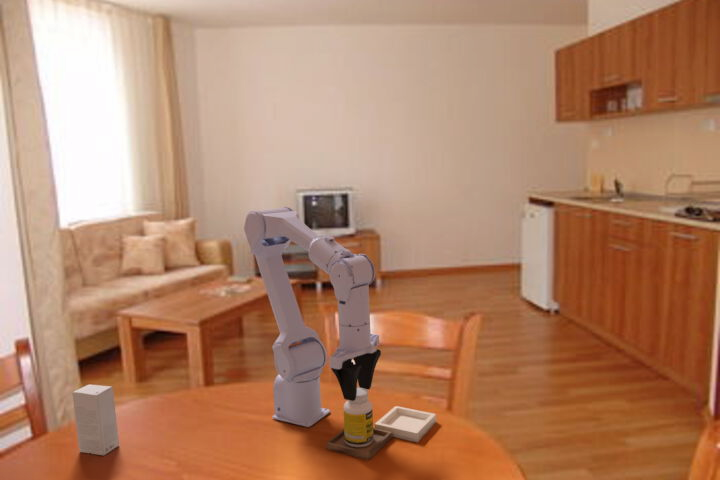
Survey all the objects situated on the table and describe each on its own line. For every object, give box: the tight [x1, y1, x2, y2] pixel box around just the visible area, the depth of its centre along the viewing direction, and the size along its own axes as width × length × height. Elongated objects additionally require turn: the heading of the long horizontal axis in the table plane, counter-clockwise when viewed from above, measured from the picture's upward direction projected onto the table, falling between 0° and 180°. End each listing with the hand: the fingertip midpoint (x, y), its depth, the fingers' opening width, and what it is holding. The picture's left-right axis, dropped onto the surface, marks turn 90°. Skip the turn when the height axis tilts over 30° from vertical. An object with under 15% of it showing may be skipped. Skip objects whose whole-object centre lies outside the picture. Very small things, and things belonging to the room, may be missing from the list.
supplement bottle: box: [343, 387, 374, 448], centre depth 105 cm, size 5×5×10 cm
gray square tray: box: [325, 427, 393, 461], centre depth 106 cm, size 9×9×1 cm
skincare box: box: [72, 383, 120, 456], centre depth 107 cm, size 6×4×12 cm
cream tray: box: [374, 405, 437, 443], centre depth 111 cm, size 9×9×2 cm
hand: (357, 393), depth 104 cm, fingers open, 5 cm apart
